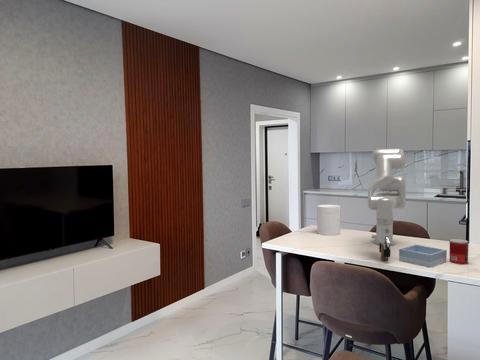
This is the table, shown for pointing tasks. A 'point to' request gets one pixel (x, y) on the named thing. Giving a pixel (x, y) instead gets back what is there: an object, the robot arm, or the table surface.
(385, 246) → the walnut peg
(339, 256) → the table surface
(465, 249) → the canned food
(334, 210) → the canister
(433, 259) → the slate box
